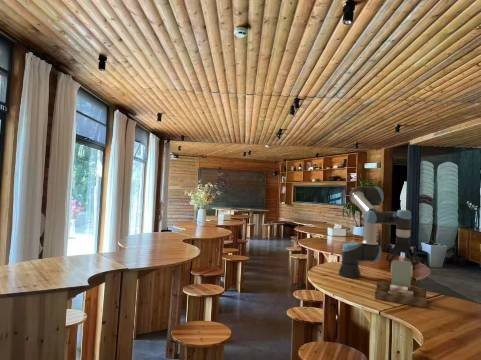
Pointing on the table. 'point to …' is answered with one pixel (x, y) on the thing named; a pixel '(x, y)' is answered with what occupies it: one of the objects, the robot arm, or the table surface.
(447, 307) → the table surface
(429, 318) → the table surface
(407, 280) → the grey-green flat block
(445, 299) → the table surface
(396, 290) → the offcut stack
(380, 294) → the rack
